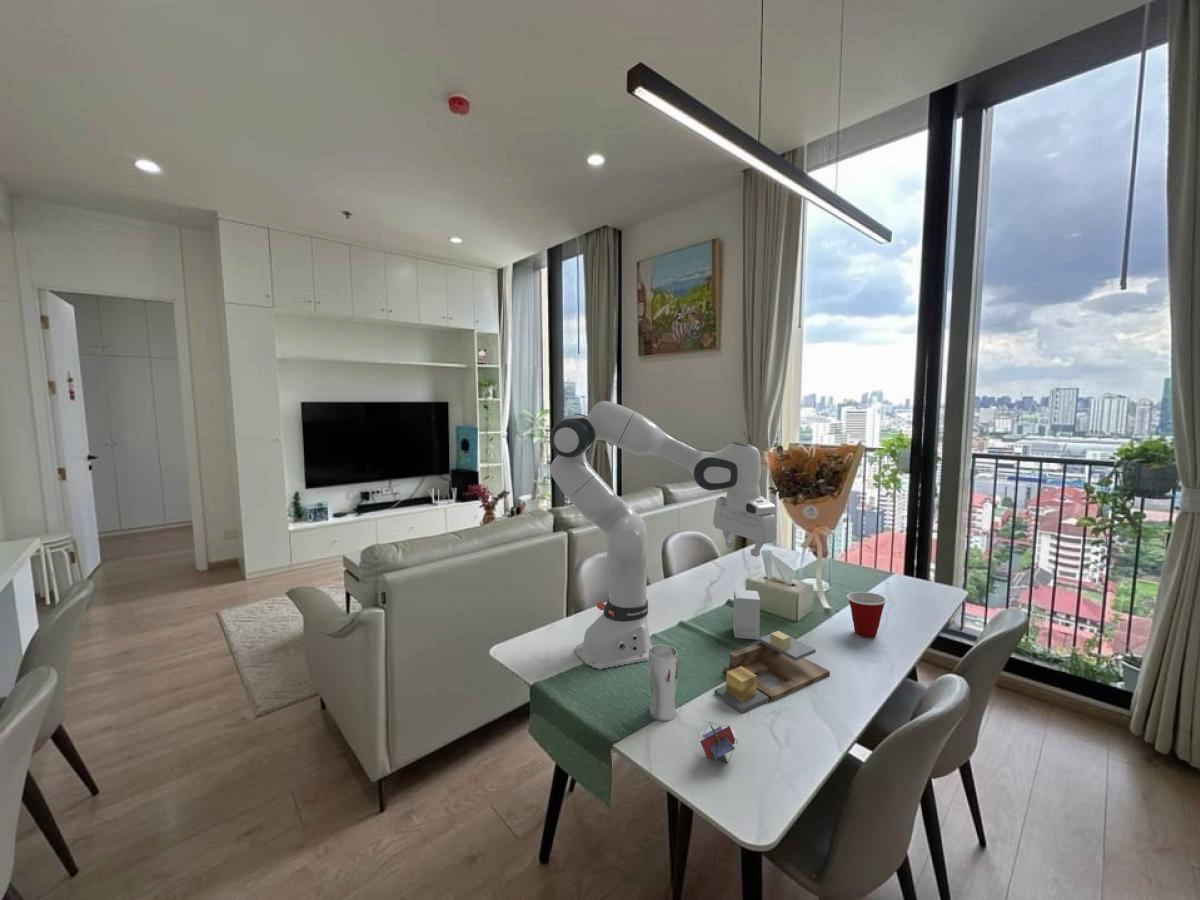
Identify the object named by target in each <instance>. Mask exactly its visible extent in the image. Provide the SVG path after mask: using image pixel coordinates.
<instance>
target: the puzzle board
mask: <svg viewBox="0 0 1200 900" xmlns="http://www.w3.org/2000/svg"><path fill="white" fill-rule="evenodd" d="M728 663H729V664H726V665H724V666H723V671H724V672H725V673H727V672H728V671H730V670H733V669H735V668H738V667H741V666H742V667H743V668H745V669H747V670H748V671H750V672H752V673H753V674H755V675H756V676H757V677H758V676H762V675H764V674H766V673H768V674H770V675H772V676H774V677H776V678H777V679H779V680H780V681H782V682H783V683H781V684H778V685H776V686H774V687H771V688H770V687H769V686H767V685H766V684H764V683H763V682H761V681H759V680H758V679H757V690H758V691H760V692H761V693H763V694H764V695H766V696H768V697H769V702H774V701H777V700H778V699H780V698H783V697H786V696H787V695H790V694H792V693H794V692H797V691H798V690H800V689H803V688H805V687H807V686H809V685H812V684H815V683H816V682H818V681H821V680H822V679H825V678H827V677H829V676H830V674H831V673H830V672H831V671H830V670H829V669H827V668H824V667H823V666H821V665H819V664H817V663H815V662H813V661H811V660H810V659H807V658H806V657H804V658H802V659H799V660H797V661H794V660H792V659H791V658H789V657H787V656H785V655H783V654H781V653H779V652H777V651H776V650H774V649H772V648H770V647H768V646H766V645H764V644H763V643H761V642H758V643H755V644H752V645H749V646H746V647H742V648H741V649H738V650H734V651H733V652H729V662H728Z"/></svg>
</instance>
